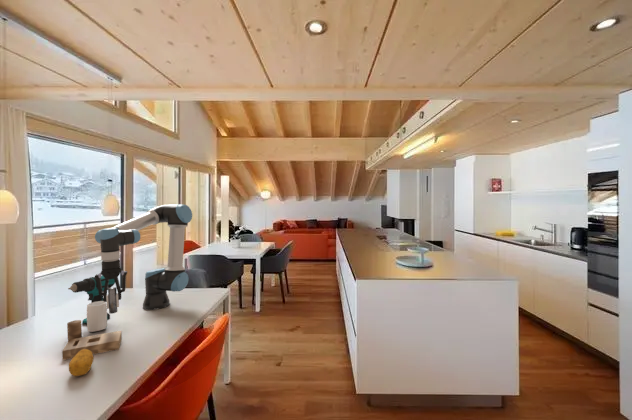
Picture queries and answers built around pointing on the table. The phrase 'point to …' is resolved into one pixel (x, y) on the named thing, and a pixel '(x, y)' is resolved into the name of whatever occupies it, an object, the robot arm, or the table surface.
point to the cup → (96, 316)
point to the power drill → (91, 289)
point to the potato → (81, 363)
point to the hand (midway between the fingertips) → (113, 307)
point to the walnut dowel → (74, 329)
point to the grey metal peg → (112, 300)
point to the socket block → (93, 344)
